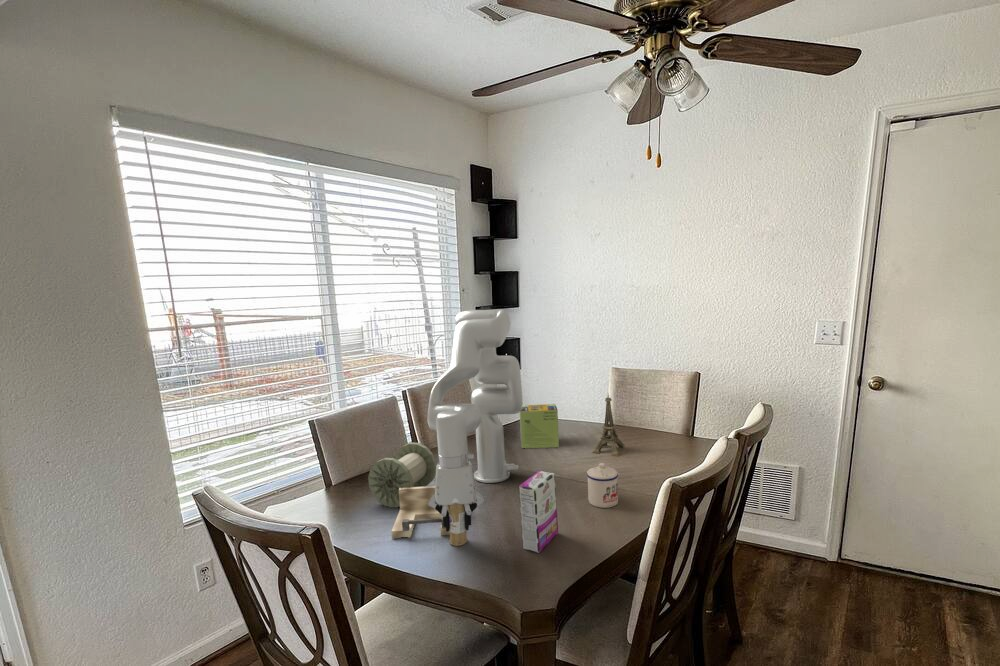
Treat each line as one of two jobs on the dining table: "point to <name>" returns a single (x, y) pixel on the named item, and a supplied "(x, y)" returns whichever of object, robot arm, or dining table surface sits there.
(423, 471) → the spool
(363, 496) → the dining table surface
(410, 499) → the wooden stand
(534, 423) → the protein box
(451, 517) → the sprinkles bottle
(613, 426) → the eiffel tower
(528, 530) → the candy bar box
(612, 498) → the teacup with lid
